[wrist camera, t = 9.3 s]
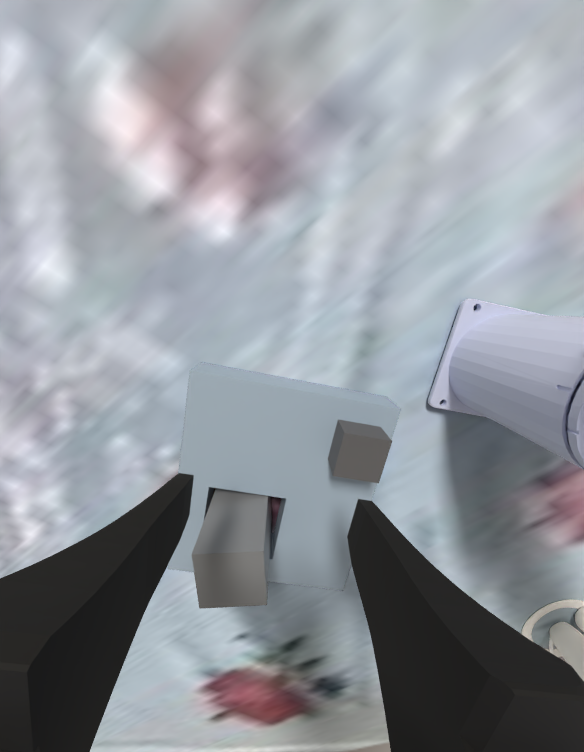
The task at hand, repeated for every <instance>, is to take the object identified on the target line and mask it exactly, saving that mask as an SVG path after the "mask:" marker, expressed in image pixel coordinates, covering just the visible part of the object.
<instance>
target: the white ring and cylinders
mask: <svg viewBox="0 0 584 752" xmlns="http://www.w3.org/2000/svg"><path fill="white" fill-rule="evenodd" d="M566 607H570V608H576V609H579V610H578V611H577V612H576V614H575V622H576V624H577V626H578V627H579V628H580V629H581V630H582V631H583V632H584V601H581V600H561V601H557V602H554V603H551V604H549V605H546V606H544V607H543V608H541V609H539V610H538V611H536V612H535V613H534V614H533V615H532V616H531V617H530V618H529V619H528V620H527V621H526V623H525V624H524V626H523V629H522V632H521V634H522V635H523V636H525V637H526V638H528V639H529V640H531V641H532V642H533V640H532V636H531V633H532V629H533V626H534V625H535V623H536V622H537V621H538V620H539V619H540V618H541V617H542V616H544V615H545V614H547V613H548V612H550V611H553V610H556V609H559V608H566ZM549 634H550V640H549V649H545V648H544V649H545V650H547V651H548V652H550V653H552V654H553V655H555V656H556V657H563V658H564V659H565V661H566V662H567V663H568V664H569V665H571V666H572V667H573V668H574V670H575V671H576V672H577V674H578V675H579V676H580V677H581V679H582V680H583V681H584V634H581V633H580V632H579V631H578V630H577V629H576V628H574V627H573V626H571V625H570V624H568V623H566V622H559V623H556V624H554V625H553V626H552V627H551V628H550V630H549ZM553 645H555V646H556V648H557V649H553Z"/></svg>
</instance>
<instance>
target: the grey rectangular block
mask: <svg viewBox="0 0 584 752" xmlns="http://www.w3.org/2000/svg"><path fill="white" fill-rule="evenodd" d="M271 522H272V511H271V496H266V495H259V494H253V493H246V492H239V491H233V490H226V489H219V488H216V490H215V492H214V495H213V498H212V501H211V503H210V506H209V509H208V511H207V514H206V517H205V519H204V522H203V525H202V528H201V530H200V533H199V536H198V538H197V541H196V544H195V546H194V549H193V552H192V561H193V568H194V575H195V581H196V588H197V595H198V602H199V608H218V607H237V606H256V605H267V594H268V576H269V558H270V540H271Z"/></svg>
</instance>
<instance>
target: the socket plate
mask: <svg viewBox="0 0 584 752" xmlns="http://www.w3.org/2000/svg"><path fill="white" fill-rule="evenodd" d="M400 411H401V409H400V408H399V407H398V406H397V405H396V404H395V403H394V402H392V401H391V400H390V399H389V398H388V397H385V396H379V395H374V394H369V393H363V392H358V391H353V390H347V389H342V388H337V387H331V386H326V385H321V384H315V383H310V382H304V381H299V380H294V379H288V378H283V377H278V376H272V375H267V374H262V373H256V372H251V371H246V370H240V369H235V368H229V367H224V366H219V365H213V364H208V363H203V362H201V363H200V364H198V365H197V366H195V367H194V368H192V369H191V370H190V372H189V381H188V390H187V399H186V408H185V417H184V426H183V435H182V444H181V453H180V462H179V471H178V474H179V473H183V474H190V475H194V479H193V488H192V497H191V506H190V515H189V518H188V521H187V523H186V526H185V529H184V531H183V534H182V537H181V539H180V541H179V543H178V545H177V547H176V549H175V551H174V553H173V555H172V557H171V559H170V561H169V563H168V569H172V570H180V571H188V572H194V568H193V561H192V552H193V549H194V546H195V544H196V541H197V538H198V536H199V533H200V530H201V528H202V525H203V522H204V519H205V517H206V514H207V511H208V509H209V506H210V503H211V501H212V497H213V491H214V488H219V489H226V490H233V491H239V492H246V493H253V494H259V495H266V496H272V497H279V498H281V503H280V507H279V512H278V516H277V520H276V525H275V529H274V533H271V540H270V558H269V576H268V582H276V583H283V584H291V585H299V586H307V587H315V588H323V589H331V590H339V591H343V589H344V586H345V583H346V580H347V577H348V574H349V571H350V567H351V564H352V563H351V558H350V552H349V546H348V539H347V535H348V532H349V529H350V525H351V522H352V518H353V515H354V511H355V508H356V504H357V501H358V499H362V500H369V501H372V499H373V495H374V492H375V489H376V486H377V483H379V481H380V477H381V474H382V471H383V468H384V465H385V462H386V459H387V456H388V452H389V449H390V446H391V443H392V440H391V439H392V436H393V433H394V430H395V427H396V423H397V420H398V417H399V414H400Z"/></svg>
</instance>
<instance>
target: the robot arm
mask: <svg viewBox="0 0 584 752" xmlns="http://www.w3.org/2000/svg"><path fill="white" fill-rule="evenodd" d="M474 305H477V309H476V310H475V311H474V309H473V308H474ZM441 400H444V402H443V403H442V404H440V401H441ZM428 404H429V405H430V406H432V407H434V408H439V409H444V410H450V411H455V412H461V413H466V414H471V415H477V416H482V417H487V418H490V419H492V420H493V421H495V422H497V423H499V424H501V425H503V426H504V427H506V428H508V429H510V430H512V431H514V432H516V433H517V434H519V435H521V436H523V437H525V438H527V439H528V440H530V441H532V442H534V443H536V444H538V445H539V446H541V447H543V448H545V449H547V450H549V451H551V452H552V453H554V454H556V455H558V456H560V457H562V458H563V459H565V460H567V461H569V462H571V463H573V464H574V465H576V466H578V467H580V468H582V469H584V317H577V316H548V315H543V314H539V313H534V312H530V311H525V310H521V309H516V308H512V307H507V306H503V305H498V304H494V303H489V302H485V301H480V300H476V299H465V300H464V301H462V303H461V305H460V307H459V310H458V313H457V316H456V319H455V322H454V325H453V328H452V331H451V334H450V337H449V339H448V342H447V345H446V348H445V351H444V354H443V357H442V360H441V363H440V366H439V369H438V372H437V375H436V377H435V380H434V383H433V386H432V389H431V392H430V395H429V398H428ZM193 479H194V475H190V474H183V473H179V474H177V475H176V476H175V477H173V478H172V479H171V480H170V481H168V482H167V483H166V484H165V485H163V486H162V487H161V488H160V489H158V490H157V491H156V492H155V493H153V494H152V495H151V496H149V497H148V498H147V499H145V500H144V501H143V502H141V503H140V504H139V505H137V506H136V507H134V508H133V509H132V510H130V511H129V512H127V513H126V514H124V515H123V516H121V517H120V518H118V519H117V520H115V521H114V522H112V523H111V524H109V525H108V526H106V527H104V528H103V529H101V530H99V531H98V532H96V533H94V534H93V535H91V536H89V537H87V538H85V539H84V540H82V541H80V542H78V543H76V544H74V545H72V546H70V547H68V548H66V549H64V550H62V551H60V552H58V553H56V554H54V555H52V556H50V557H48V558H46V559H44V560H42V561H40V562H37V563H35V564H33V565H31V566H29V567H26V568H24V569H22V570H19V571H17V572H15V573H13V574H10V575H8V576H5V577H3V578H0V752H89V751H90V749H91V746H92V743H93V741H94V738H95V735H96V733H97V730H98V728H99V725H100V722H101V720H102V717H103V715H104V712H105V709H106V707H107V704H108V702H109V699H110V696H111V694H112V691H113V689H114V686H115V684H116V681H117V678H118V676H119V673H120V671H121V668H122V666H123V663H124V661H125V658H126V656H127V653H128V651H129V648H130V646H131V643H132V641H133V639H134V636H135V634H136V631H137V629H138V626H139V624H140V621H141V619H142V617H143V614H144V612H145V610H146V608H147V606H148V603H149V601H150V599H151V597H152V595H153V593H154V591H155V589H156V587H157V585H158V583H159V581H160V579H161V577H162V575H163V573H164V571H165V569H166V567H167V565H168V563H169V561H170V559H171V557H172V555H173V553H174V551H175V549H176V547H177V545H178V543H179V541H180V539H181V537H182V534H183V531H184V529H185V526H186V523H187V521H188V518H189V515H190V506H191V497H192V488H193ZM347 539H348V546H349V552H350V558H351V563H352V567H353V571H354V575H355V578H356V582H357V586H358V589H359V593H360V597H361V600H362V604H363V607H364V611H365V615H366V618H367V622H368V626H369V630H370V634H371V638H372V643H373V648H374V653H375V659H376V664H377V669H378V675H379V680H380V686H381V692H382V698H383V703H384V709H385V715H386V722H387V728H388V735H389V741H390V748H391V752H584V681H583V680H582V679H581V677H580V676H579V675H578V674H577V672H576V671H575V670H574V668H573V667H572V666H571V665H569V664H568V663H566V662H564V661H563V660H561V659H560V658H558V657H556V656H555V655H553V654H552V653H550V652H548V651H547V650H545V649H544V648H542V647H540V646H539V645H537V644H536V643H534V642H532V641H531V640H529V639H528V638H526V637H525V636H523V635H522V634H520V633H519V632H517V631H516V630H514V629H513V628H512V627H510V626H509V625H507V624H506V623H504V622H503V621H501V620H500V619H499V618H497V617H496V616H495V615H493V614H492V613H490V612H489V611H488V610H486V609H485V608H484V607H482V606H481V605H480V604H479V603H477V602H476V601H475V600H473V599H472V598H471V597H469V596H468V595H467V594H466V593H464V592H463V591H462V590H461V589H460V588H458V587H457V586H456V585H455V584H454V583H452V582H451V581H450V580H449V579H448V578H447V577H446V576H444V575H443V574H442V573H441V572H440V571H439V570H438V569H436V568H435V567H434V566H433V565H432V564H431V563H430V562H429V561H428V560H427V559H426V558H425V557H424V556H423V555H422V554H421V553H420V552H419V551H418V550H417V549H416V548H415V547H414V546H413V545H412V544H411V543H410V542H409V541H408V540H407V539H406V538H405V537H404V536H403V535H402V534H401V533H400V531H399V530H398V529H397V528H396V527H395V526H394V525H393V524H392V523H391V522H390V520H389V519H388V518H387V517H386V516H385V515H384V514H383V513H382V512H381V510H380V509H379V508H378V507H377V506H376V505H375V504H374V503H373V502H372V501H369V500H362V499H358V501H357V504H356V508H355V511H354V515H353V518H352V522H351V525H350V529H349V532H348V535H347Z"/></svg>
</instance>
